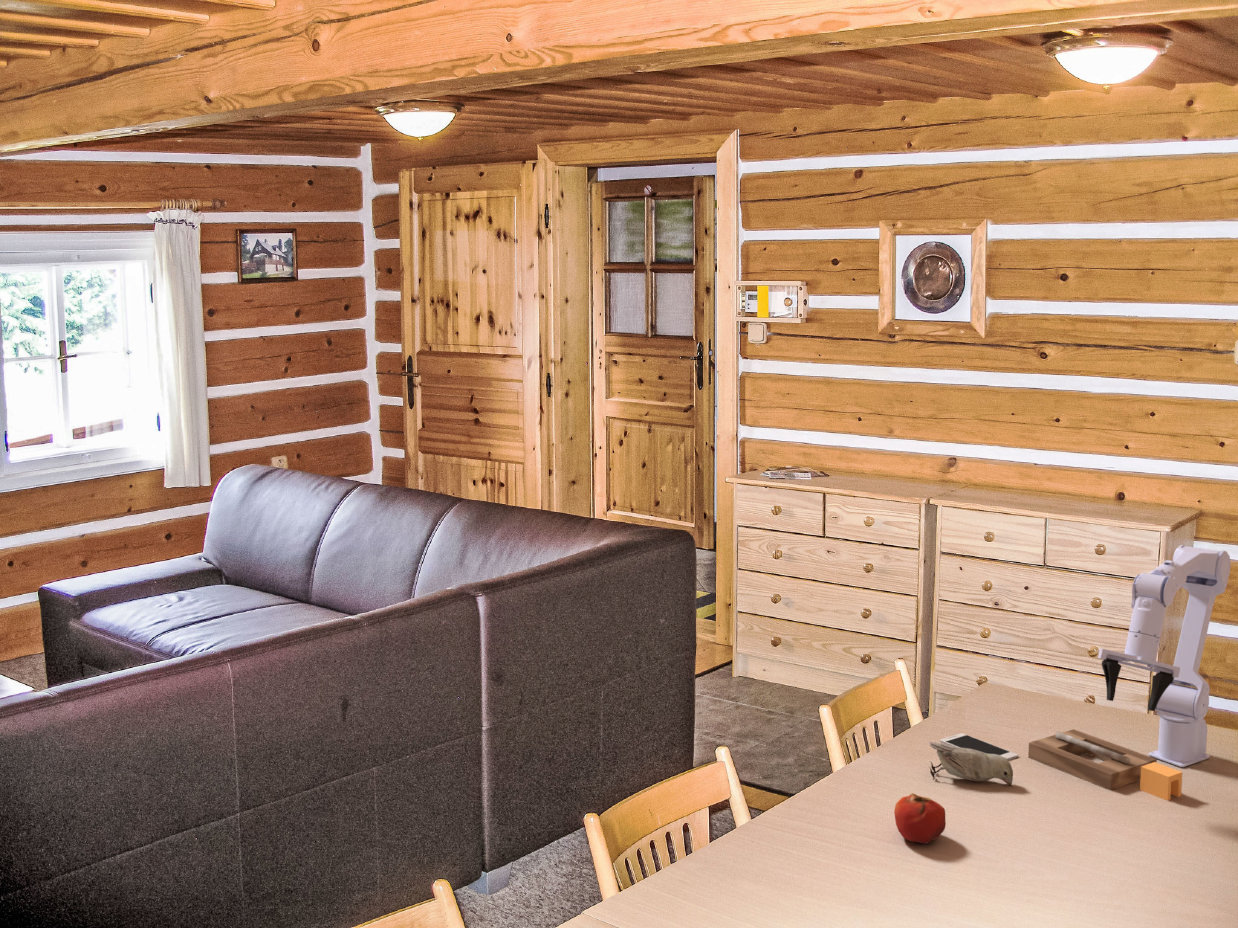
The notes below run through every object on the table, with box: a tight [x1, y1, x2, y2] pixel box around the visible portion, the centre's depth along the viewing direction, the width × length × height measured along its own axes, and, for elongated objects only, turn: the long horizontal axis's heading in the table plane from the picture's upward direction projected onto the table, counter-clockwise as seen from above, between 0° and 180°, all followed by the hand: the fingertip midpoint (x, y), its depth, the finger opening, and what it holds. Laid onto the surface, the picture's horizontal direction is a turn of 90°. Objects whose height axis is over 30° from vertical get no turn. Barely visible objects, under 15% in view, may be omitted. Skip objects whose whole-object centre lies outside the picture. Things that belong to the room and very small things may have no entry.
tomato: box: [893, 792, 947, 844], centre depth 224 cm, size 9×9×8 cm
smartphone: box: [939, 732, 1019, 761], centre depth 266 cm, size 7×15×1 cm, turn 33°
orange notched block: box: [1139, 762, 1183, 801], centre depth 242 cm, size 4×6×5 cm
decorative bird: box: [928, 741, 1014, 786], centre depth 249 cm, size 5×16×8 cm, turn 72°
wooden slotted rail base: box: [1028, 728, 1158, 791], centre depth 256 cm, size 14×20×5 cm
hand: (1130, 705), depth 238 cm, fingers open, 7 cm apart
